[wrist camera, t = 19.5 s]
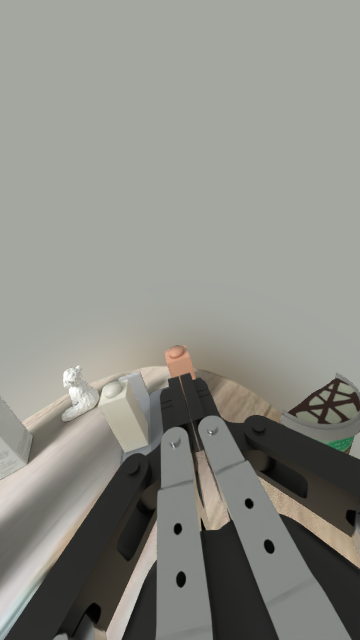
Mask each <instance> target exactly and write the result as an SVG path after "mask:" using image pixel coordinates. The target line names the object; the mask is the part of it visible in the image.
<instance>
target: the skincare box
mask: <svg viewBox="0 0 360 640" xmlns="http://www.w3.org/2000/svg"><path fill="white" fill-rule="evenodd" d="M32 438H33V436H32V435H31V434H30V432H29V431H28V430H27V429H26V427H25V426H24V425H23V424H22V422H21V421H20V420H19V419H18V418H17V416H16V415H15V414H14V413H13V411H12V410H11V409H10V408H9V406H8V405H7V404H6V402H5V401H4V400H3V399H2V398H1V396H0V480H1V479H3V478H5V477H6V476H8V475H10V474H12V473H14V472H15V471H17V470H19V469H21V468H23V467H24V466H26V465H27V462H28V458H29V453H30V448H31V443H32Z"/></svg>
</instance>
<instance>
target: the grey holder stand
mask: <svg viewBox="0 0 360 640" xmlns="http://www.w3.org/2000/svg"><path fill="white" fill-rule="evenodd" d="M127 379H128V381H129V383H130V386H131V388H132V390H133V392H134V394H135V397H136V399H137V401H138V403H139V405H140V408H141V410H142V412H143V414H144V416H145V419H146V421H147V423H148V443H149V445H147V446H144V447H141V448H138V449H135V450H132V451H129V452H126V453H125V452H124V451H123V449H122V456H121V465H122V463H123V462H124V460H125V459H126V458H127V457H129V456H130V455H132V454H135V453H142V454H144V455H145V456H146V455H147V454H148V453H150V452H151V451H153V450H154V449H155V448H156V447H157V446H158V445H159V444H160V442H161V439H162V437H163V424H162V415H161V404H160V394H161V391H162V389H160V390H157V391H154V392H151V393H149V392H148V390H147V387H146V385H145V383H144V380H143V378H142V375H141V373H140V371H139V372H135V373H132V374H129V375H126V376H123V377H120V378H119V380H118V381H119V382H121V381H124V380H127ZM196 379H197V378H196ZM166 388H169V387H166ZM163 389H165V388H163ZM189 414H190V413H189ZM190 418H191V417H190ZM191 422H192V421H191ZM192 425H193V424H192ZM193 429H194V428H193ZM194 433H195V431H194ZM195 437H196V434H195ZM196 441H197V438H196ZM197 444H198V441H197ZM198 448H199V451H200V447H199V444H198Z"/></svg>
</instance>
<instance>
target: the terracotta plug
mask: <svg viewBox="0 0 360 640" xmlns="http://www.w3.org/2000/svg"><path fill="white" fill-rule="evenodd" d="M165 356H166V362H167V366H168V368H169V371H170V374H171V377H172V378H173V377H176V376H179V379H180V375H183V374H186V373H189V372H190V374H191V376H192V379H193V380H194V379H196V377H195V373H194V370H193V366H192V363H191V359H190V356H189V353H188V351H187V348H186V346H185V345H184V346H179V345H177V346H173V347H171V348H170V349H169V350H168V351H165ZM180 382H181V379H180ZM181 385H182V383H181ZM182 389H183V387H182ZM183 392H184V391H183ZM184 395H185V394H184ZM185 399H186V398H185ZM186 403H187V402H186Z"/></svg>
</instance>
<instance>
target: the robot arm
mask: <svg viewBox="0 0 360 640" xmlns="http://www.w3.org/2000/svg"><path fill="white" fill-rule="evenodd" d="M180 379H181V382H180ZM180 379H179V376H176V377H173V378H170V379H168V383H169V388H165V389H162V391H161V394H160V404H161V415H162V424H163V437H162V439H161V442H160V444H159V445H158V446H157V447H156V448H155V449H154V450H153V451H151V452H150V453H148V454H147V455H146V456H145V455H144V454H142V453H135V454H132V455H130V456H129V457H127V458H126V459H125V460H124V462H123V463H122V465H121V466H120V467H119V469H118V470H117V472H116V473H115V475H114V476H113V478H112V479H111V481H110V482H109V484H108V485H107V487H106V488H105V490H104V491H103V493H102V494H101V496H100V497H99V499H98V500H97V502H96V503H95V505H94V506H93V508H92V509H91V511H90V512H89V514H88V515H87V517H86V518H85V520H84V521H83V523H82V524H81V526H80V527H79V529H78V530H77V532H76V533H75V534H74V536H73V537H72V539H71V540H70V542H69V543H68V545H67V546H66V548H65V549H64V551H63V552H62V554H61V555H60V557H59V558H58V560H57V561H56V563H55V564H54V566H53V567H52V569H51V570H50V572H49V573H48V575H47V576H46V578H45V579H44V581H43V582H42V584H41V585H40V587H39V588H38V590H37V591H36V593H35V594H34V596H33V597H32V598H31V600H30V601H29V603H28V604H27V606H26V607H25V609H24V610H23V612H22V613H21V615H20V616H19V618H18V619H17V621H16V622H15V624H14V625H13V627H12V628H11V630H10V631H9V633H8V634H7V636H6V637H5V639H4V640H107V636H106V631H107V628H108V626H109V624H110V622H111V620H112V617H113V615H114V613H115V611H116V608H117V606H118V604H119V602H120V600H121V597H122V595H123V593H124V591H125V588H126V586H127V584H128V582H129V580H130V577H131V575H132V573H133V571H134V568H135V566H136V564H137V562H138V560H139V557H140V555H141V553H142V551H143V548H144V546H145V544H146V542H147V540H148V537H149V535H150V533H151V531H152V528H153V526H154V524H155V522H156V520H157V560H156V561H155V562H154V564H153V566H152V567H151V569H150V570H149V572H148V574H147V576H146V578H145V580H144V583H143V585H142V588H141V590H140V593H139V596H138V598H137V601H136V603H135V606H134V609H133V611H132V614H131V617H130V619H129V622H128V624H127V627H126V630H125V632H124V635H123V637H122V640H360V569H359V568H358V567H357V566H355V565H354V564H353V563H351V562H350V561H349V560H348V559H346V558H345V557H344V556H342V555H341V554H340V553H338V552H337V551H336V550H334V549H333V548H332V547H330V546H329V545H328V544H326V543H325V542H324V541H323V540H321V539H320V538H319V537H317V536H316V535H315V534H313V533H312V532H311V531H309V530H308V529H307V528H305V527H304V526H303V525H301V524H300V523H298V522H297V521H295V520H293V519H292V518H289V517H287V516H285V515H282V514H279V513H277V511H276V509H275V507H274V505H273V504H272V502H271V500H270V498H269V496H268V495H267V493H266V491H265V489H264V487H263V486H262V484H261V482H260V480H259V478H258V477H257V475H258V476H259V477H261V478H262V479H264V480H265V481H267V482H268V483H270V484H271V485H273V486H274V487H276V488H277V489H279V490H280V491H282V492H283V493H285V494H286V495H288V496H289V497H291V498H293V499H294V500H296V501H297V502H299V503H300V504H302V505H303V506H305V507H306V508H308V509H309V510H311V511H312V512H314V513H315V514H317V515H318V516H320V517H321V518H323V519H324V520H326V521H327V522H329V523H330V524H332V525H333V526H335V527H337V528H338V529H340V530H341V531H343V532H344V533H346V534H347V535H349V536H350V537H352V541H353V544H354V547H355V549H356V551H357V553H358V555H359V556H360V459H357V458H355V457H353V456H351V455H348V454H346V453H344V452H342V451H339V450H337V449H335V448H333V447H331V446H328V445H326V444H324V443H322V442H319V441H317V440H315V439H313V438H310V437H308V436H306V435H304V434H302V433H299V432H297V431H295V430H293V429H290V428H288V427H286V426H284V425H281V424H279V423H277V422H275V421H273V420H270V419H268V418H266V417H263V416H260V415H253V416H250V417H248V418H247V419H246V420H245V421H244V423H232V422H228V421H226V420H224V419H223V418H222V417H221V416H220V414H219V412H218V410H217V407H216V405H215V403H214V401H213V398H212V396H211V394H210V391H209V389H208V387H207V384H206V382H205V381H204V380H202V379H201V378H198V379H194V380H193V379H192V376H191V374H190V372H189V373H186V374H183V375H180ZM181 383H182V385H181ZM182 387H183V389H182ZM183 391H184V392H183ZM184 394H185V395H184ZM185 398H186V399H185ZM186 402H187V403H186ZM189 413H190V414H189ZM190 417H191V418H190ZM191 421H192V422H191ZM192 424H193V425H192ZM193 428H194V429H193ZM194 431H195V433H194ZM195 434H196V437H195ZM196 438H197V441H198V444H199V447H200V451H201V450H204V452H205V455H206V459H207V462H208V466H209V468H210V471H211V474H212V477H213V479H214V482H215V485H216V488H217V490H218V493H219V496H220V499H221V501H222V504H223V507H224V510H225V513H226V516H227V519H228V523H227V524H225V525H224V526H223V527H222V528H220V529H219V530H210V527H209V522H208V518H207V514H206V509H205V503H204V497H203V491H202V485H201V479H200V473H199V468H198V460H197V456H196V452H198V451H199V448H198V444H197V441H196Z"/></svg>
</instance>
